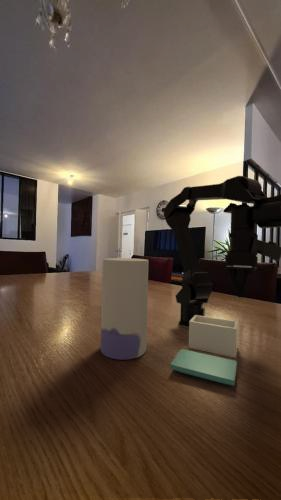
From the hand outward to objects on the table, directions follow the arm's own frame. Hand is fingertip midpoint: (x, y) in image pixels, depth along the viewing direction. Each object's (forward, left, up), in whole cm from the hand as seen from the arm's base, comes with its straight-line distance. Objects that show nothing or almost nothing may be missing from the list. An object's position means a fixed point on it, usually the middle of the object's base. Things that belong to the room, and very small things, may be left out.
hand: (241, 293), depth 55 cm
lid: (-5, -18, -11) cm, 22 cm away
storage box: (-5, -6, -12) cm, 14 cm away
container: (-23, -17, -12) cm, 31 cm away
